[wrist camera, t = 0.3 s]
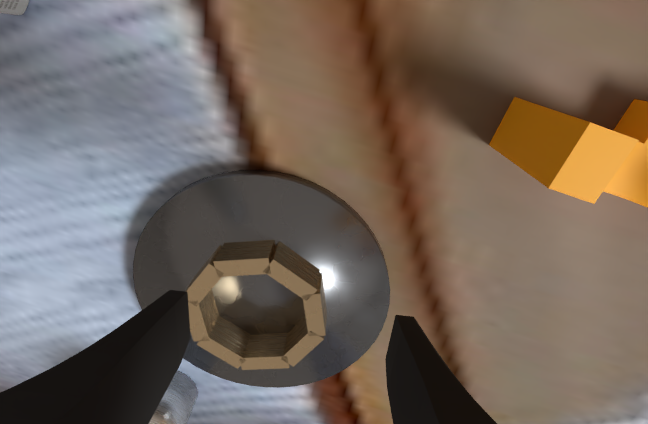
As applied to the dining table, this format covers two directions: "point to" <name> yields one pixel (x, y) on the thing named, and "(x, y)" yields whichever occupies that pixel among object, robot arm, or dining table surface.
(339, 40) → the dining table surface
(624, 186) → the pipe clamp
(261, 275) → the ring collar
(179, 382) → the piston
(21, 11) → the coffee box
